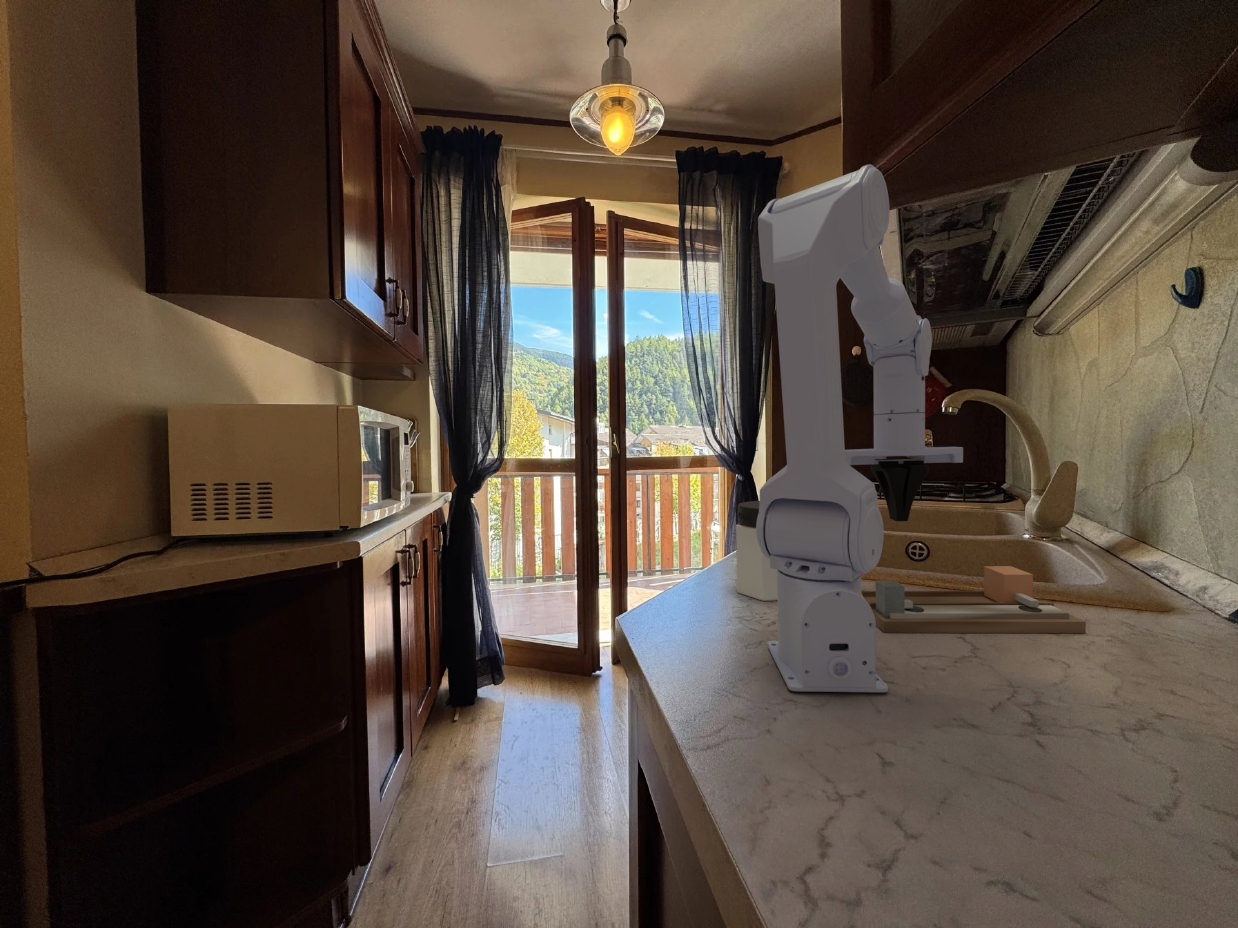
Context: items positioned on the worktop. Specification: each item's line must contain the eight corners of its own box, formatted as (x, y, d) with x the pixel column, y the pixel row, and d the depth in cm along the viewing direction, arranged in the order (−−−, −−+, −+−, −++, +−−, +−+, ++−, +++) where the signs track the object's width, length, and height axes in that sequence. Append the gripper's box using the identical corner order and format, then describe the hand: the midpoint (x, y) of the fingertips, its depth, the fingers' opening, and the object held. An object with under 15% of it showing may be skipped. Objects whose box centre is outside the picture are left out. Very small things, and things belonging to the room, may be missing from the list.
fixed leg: (916, 618, 54) (916, 586, 54) (885, 618, 55) (885, 586, 55) (905, 610, 57) (906, 580, 57) (875, 610, 57) (875, 580, 57)
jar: (747, 579, 75) (745, 499, 74) (805, 585, 71) (804, 501, 70) (731, 597, 67) (729, 507, 66) (795, 605, 63) (794, 510, 62)
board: (1085, 633, 52) (1085, 615, 52) (883, 632, 54) (883, 615, 54) (1026, 605, 61) (1026, 589, 61) (853, 605, 63) (853, 590, 62)
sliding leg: (1049, 612, 54) (1049, 580, 54) (1019, 612, 55) (1020, 581, 54) (1010, 595, 60) (1010, 566, 60) (984, 595, 61) (984, 566, 60)
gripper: (941, 413, 68) (941, 514, 68) (829, 417, 69) (830, 515, 70) (973, 411, 61) (972, 523, 61) (848, 415, 62) (849, 525, 63)
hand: (898, 520), depth 65 cm, fingers closed
